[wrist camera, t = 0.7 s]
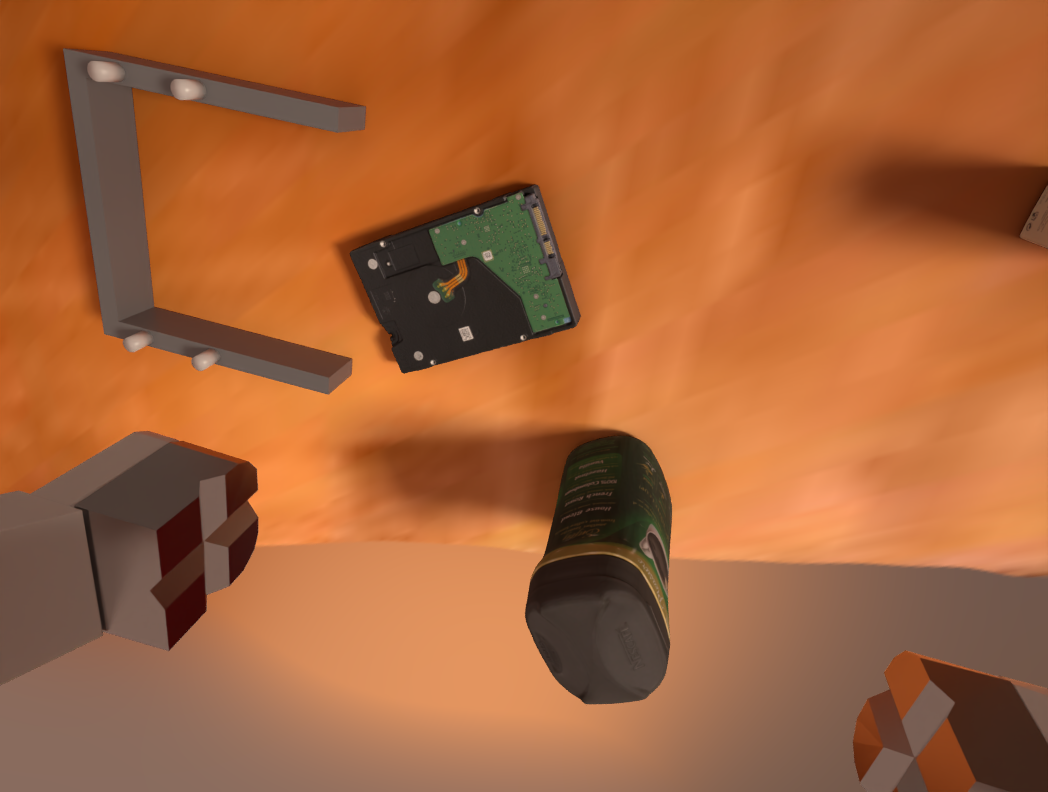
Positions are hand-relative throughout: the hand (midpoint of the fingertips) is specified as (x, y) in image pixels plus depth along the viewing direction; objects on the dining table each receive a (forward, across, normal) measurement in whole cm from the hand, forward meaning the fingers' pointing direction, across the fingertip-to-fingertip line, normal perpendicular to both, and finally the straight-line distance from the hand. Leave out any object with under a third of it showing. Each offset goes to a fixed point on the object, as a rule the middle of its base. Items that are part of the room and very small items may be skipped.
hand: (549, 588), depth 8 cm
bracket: (+39, +30, +9) cm, 50 cm away
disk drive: (+40, +12, +9) cm, 42 cm away
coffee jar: (+39, -4, +23) cm, 45 cm away
